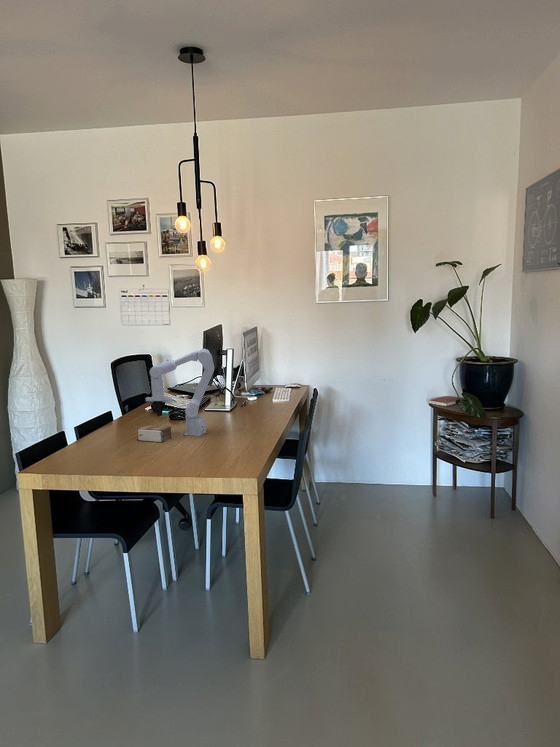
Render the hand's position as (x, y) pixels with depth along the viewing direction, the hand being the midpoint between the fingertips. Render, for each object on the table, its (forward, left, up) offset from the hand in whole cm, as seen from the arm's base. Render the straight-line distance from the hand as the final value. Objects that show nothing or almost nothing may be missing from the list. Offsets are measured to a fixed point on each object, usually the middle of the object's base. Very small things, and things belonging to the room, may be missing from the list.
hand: (159, 415), depth 265 cm
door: (-1, +11, -10) cm, 15 cm away
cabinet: (-1, +6, -10) cm, 12 cm away
